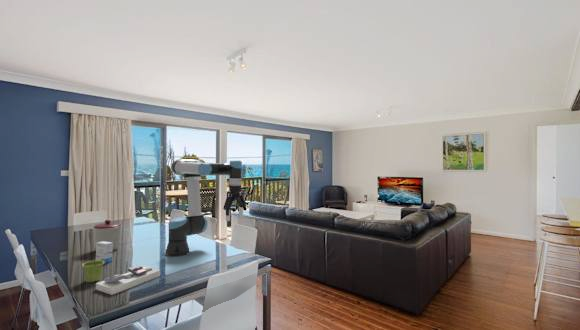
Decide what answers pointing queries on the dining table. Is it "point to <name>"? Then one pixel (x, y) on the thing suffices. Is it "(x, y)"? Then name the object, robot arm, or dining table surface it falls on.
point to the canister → (107, 233)
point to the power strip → (127, 281)
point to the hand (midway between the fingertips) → (234, 219)
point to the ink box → (104, 251)
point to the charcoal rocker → (137, 270)
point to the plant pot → (92, 270)
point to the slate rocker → (114, 278)
